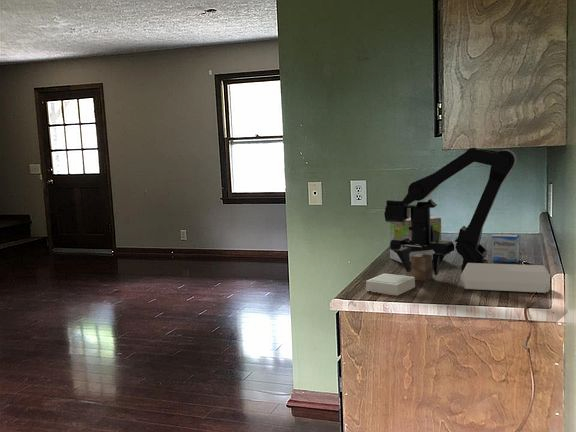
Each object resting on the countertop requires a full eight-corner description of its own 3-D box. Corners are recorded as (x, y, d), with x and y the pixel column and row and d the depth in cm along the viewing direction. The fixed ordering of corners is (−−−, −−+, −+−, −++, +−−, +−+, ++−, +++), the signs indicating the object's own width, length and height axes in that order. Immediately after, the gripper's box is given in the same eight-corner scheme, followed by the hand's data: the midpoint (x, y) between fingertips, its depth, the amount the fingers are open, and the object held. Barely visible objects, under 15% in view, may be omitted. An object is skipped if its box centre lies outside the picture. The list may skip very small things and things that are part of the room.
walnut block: (432, 277, 181) (431, 255, 180) (425, 281, 177) (424, 258, 176) (419, 276, 184) (418, 253, 183) (411, 279, 180) (411, 256, 179)
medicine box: (491, 261, 197) (491, 236, 196) (494, 259, 201) (493, 233, 199) (517, 263, 193) (517, 236, 192) (519, 260, 197) (518, 234, 196)
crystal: (456, 278, 163) (552, 282, 153) (459, 260, 168) (552, 263, 158) (459, 297, 168) (552, 303, 157) (462, 279, 173) (552, 283, 163)
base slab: (415, 287, 171) (414, 276, 171) (397, 295, 163) (396, 284, 163) (384, 283, 177) (384, 272, 177) (366, 291, 170) (365, 280, 169)
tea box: (402, 264, 201) (401, 220, 199) (389, 258, 211) (388, 217, 209) (442, 259, 205) (441, 216, 203) (428, 254, 215) (427, 213, 213)
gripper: (461, 219, 178) (462, 271, 180) (406, 217, 190) (407, 265, 192) (445, 225, 170) (446, 279, 172) (387, 222, 182) (389, 272, 184)
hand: (422, 273), depth 180 cm, fingers open, 9 cm apart
